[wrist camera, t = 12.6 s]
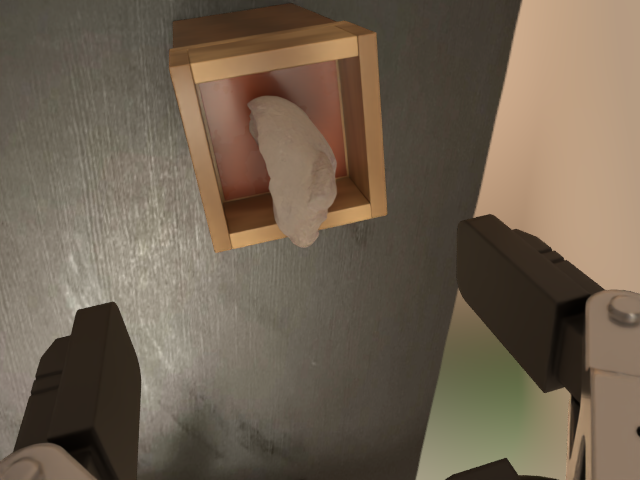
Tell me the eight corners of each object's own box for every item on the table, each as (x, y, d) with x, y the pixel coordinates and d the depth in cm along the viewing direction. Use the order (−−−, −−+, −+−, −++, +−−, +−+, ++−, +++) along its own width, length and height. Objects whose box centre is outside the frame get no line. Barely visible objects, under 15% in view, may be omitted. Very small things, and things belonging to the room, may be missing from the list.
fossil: (228, 83, 27) (254, 142, 19) (293, 64, 28) (348, 114, 19) (259, 184, 30) (294, 276, 22) (317, 166, 31) (375, 249, 22)
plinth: (200, 139, 44) (211, 209, 32) (172, 21, 39) (172, 51, 27) (307, 118, 45) (356, 179, 33) (292, 2, 40) (343, 23, 28)
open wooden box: (209, 212, 32) (215, 253, 27) (168, 48, 27) (168, 67, 23) (359, 181, 33) (387, 214, 29) (345, 20, 28) (376, 32, 24)
